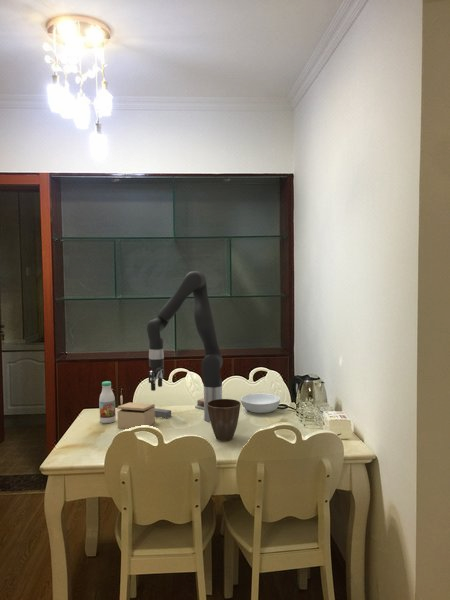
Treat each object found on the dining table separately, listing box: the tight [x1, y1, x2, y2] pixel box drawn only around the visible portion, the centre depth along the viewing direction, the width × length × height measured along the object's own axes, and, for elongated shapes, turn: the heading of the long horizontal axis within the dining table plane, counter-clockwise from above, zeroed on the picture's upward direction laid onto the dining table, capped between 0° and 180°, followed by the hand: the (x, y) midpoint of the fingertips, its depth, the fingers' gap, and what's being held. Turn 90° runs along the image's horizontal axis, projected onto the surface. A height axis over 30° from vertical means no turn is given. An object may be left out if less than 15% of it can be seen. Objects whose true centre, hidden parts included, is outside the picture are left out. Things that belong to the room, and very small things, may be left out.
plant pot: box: [207, 398, 242, 442], centre depth 215 cm, size 15×15×16 cm
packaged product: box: [194, 397, 204, 411], centre depth 262 cm, size 18×5×10 cm
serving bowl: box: [240, 392, 281, 414], centre depth 257 cm, size 21×21×7 cm
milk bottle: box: [98, 380, 117, 424], centre depth 243 cm, size 8×8×20 cm
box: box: [116, 405, 156, 430], centre depth 236 cm, size 14×12×8 cm
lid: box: [117, 402, 156, 411], centre depth 236 cm, size 14×12×1 cm
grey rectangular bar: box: [155, 407, 172, 419], centre depth 251 cm, size 14×4×4 cm, turn 64°
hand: (156, 388), depth 250 cm, fingers open, 8 cm apart
